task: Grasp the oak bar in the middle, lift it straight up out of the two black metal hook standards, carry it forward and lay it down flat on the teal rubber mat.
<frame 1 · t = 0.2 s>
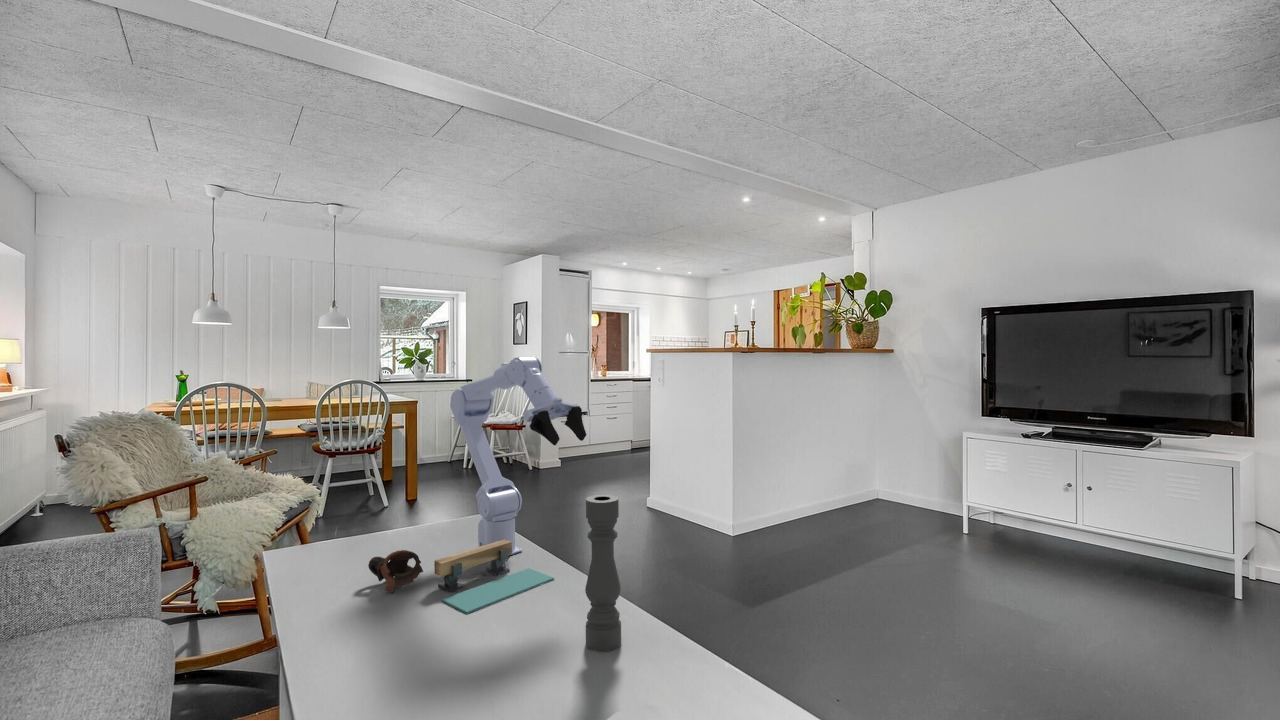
hand: (570, 439, 126), 31 cm above the table, tool tilted 45°, fingers open, 7 cm apart
oak bar: (475, 563, 128), point 3 cm above the table, touching hook standards
hook standards: (475, 578, 128), on the table
candle holder: (603, 643, 99), on the table
pottery mug: (395, 585, 125), on the table
teal mat: (500, 589, 122), on the table
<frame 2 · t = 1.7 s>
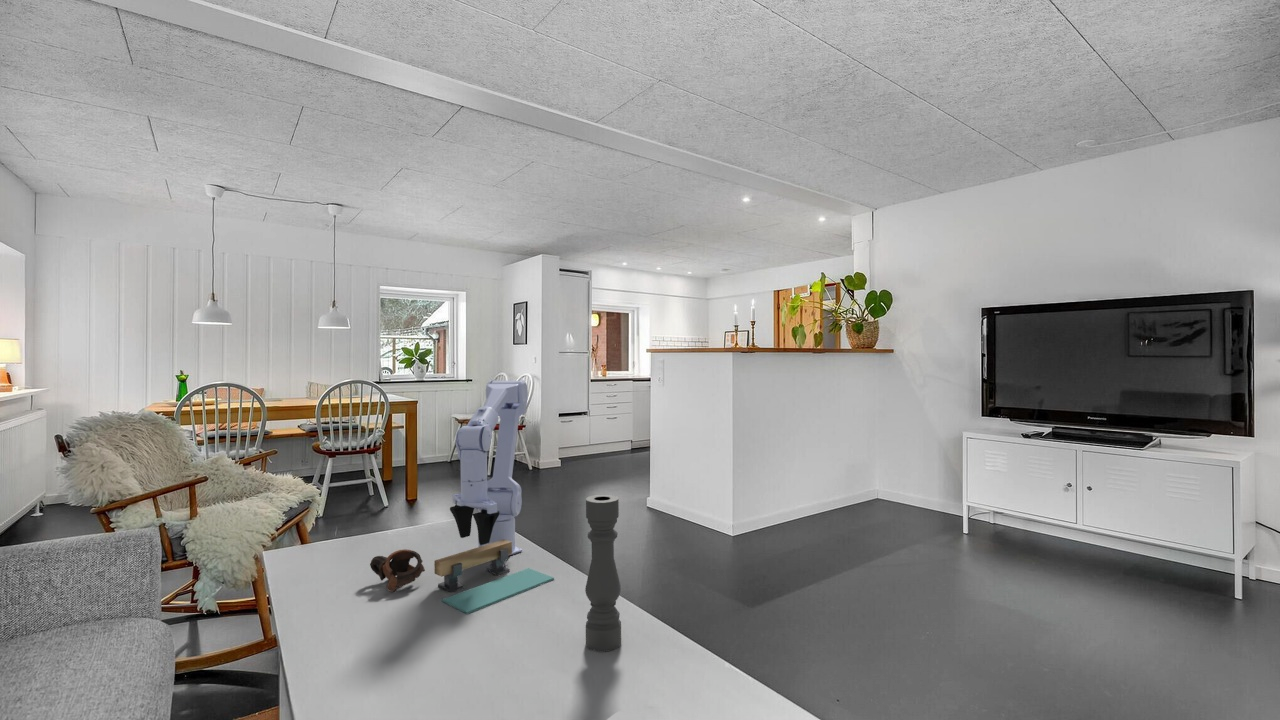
hand: (474, 540, 128), 9 cm above the table, tool pointing down, fingers open, 7 cm apart
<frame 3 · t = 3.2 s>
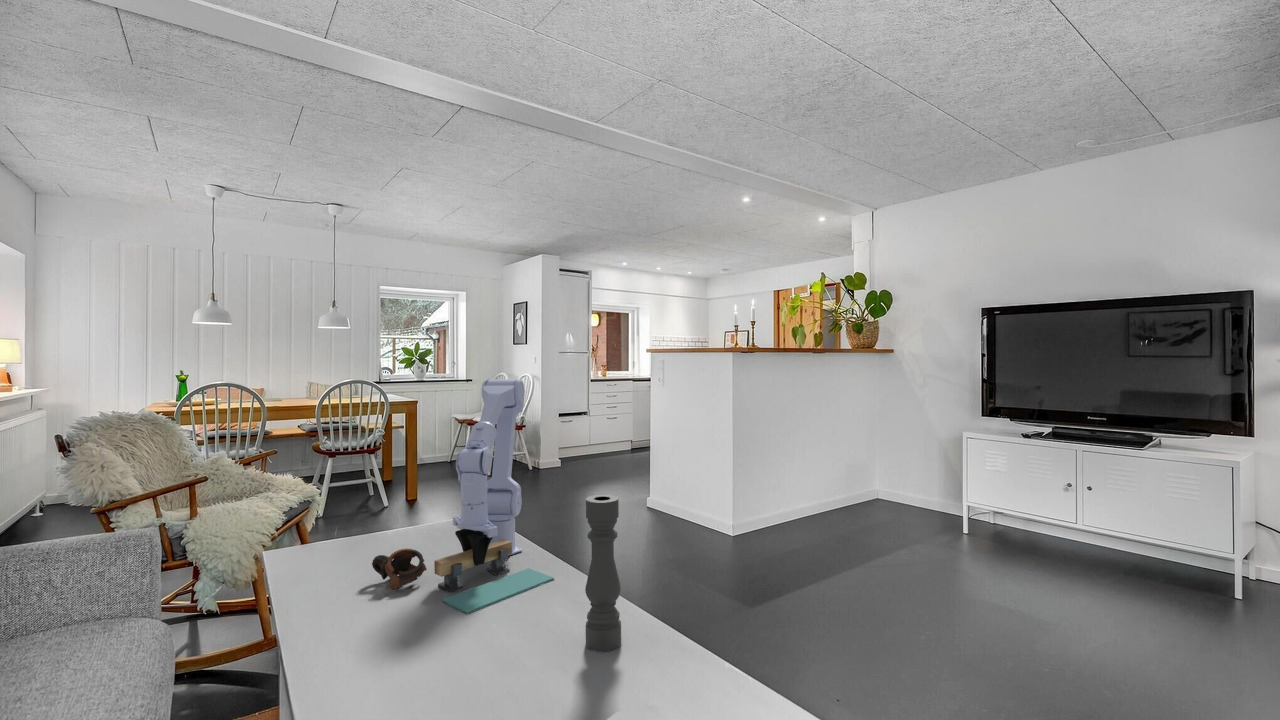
hand: (475, 562, 128), 4 cm above the table, tool pointing down, fingers closed on oak bar, 3 cm apart
oak bar: (475, 563, 128), point 3 cm above the table, touching gripper, hook standards
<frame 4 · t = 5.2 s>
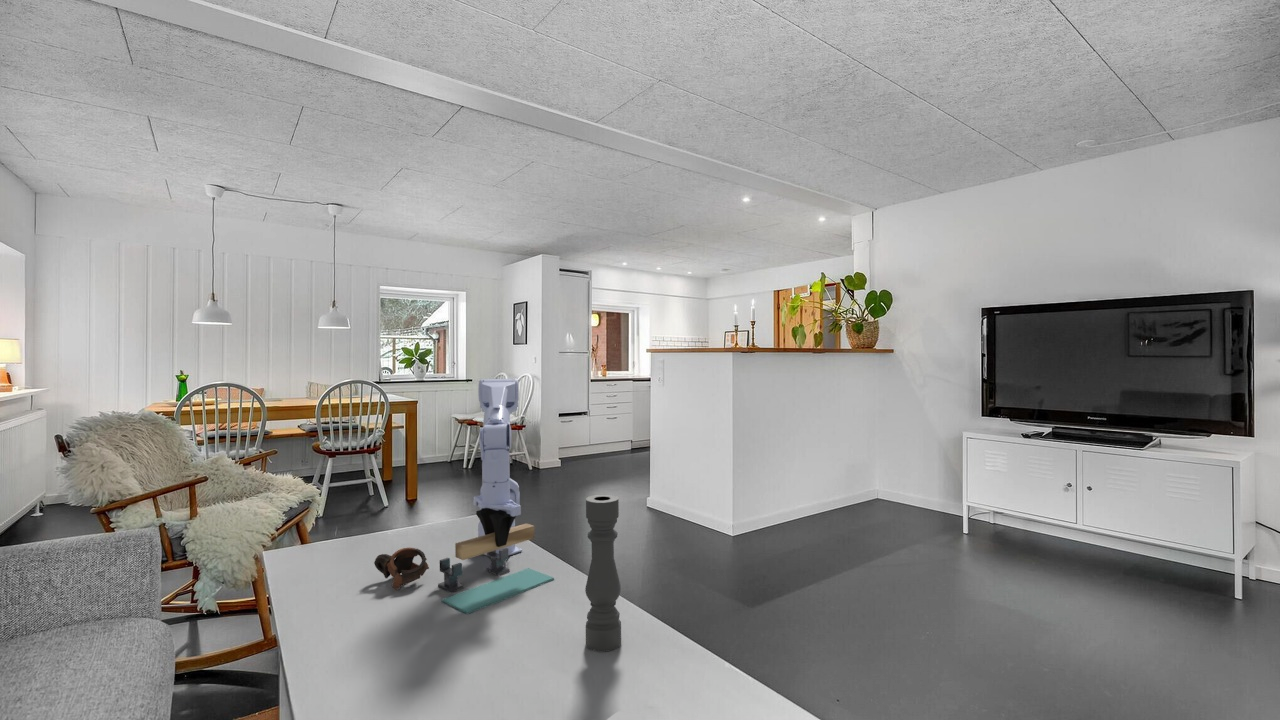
hand: (496, 543, 122), 10 cm above the table, tool pointing down, fingers closed on oak bar, 3 cm apart
oak bar: (496, 547, 122), point 9 cm above the table, touching gripper
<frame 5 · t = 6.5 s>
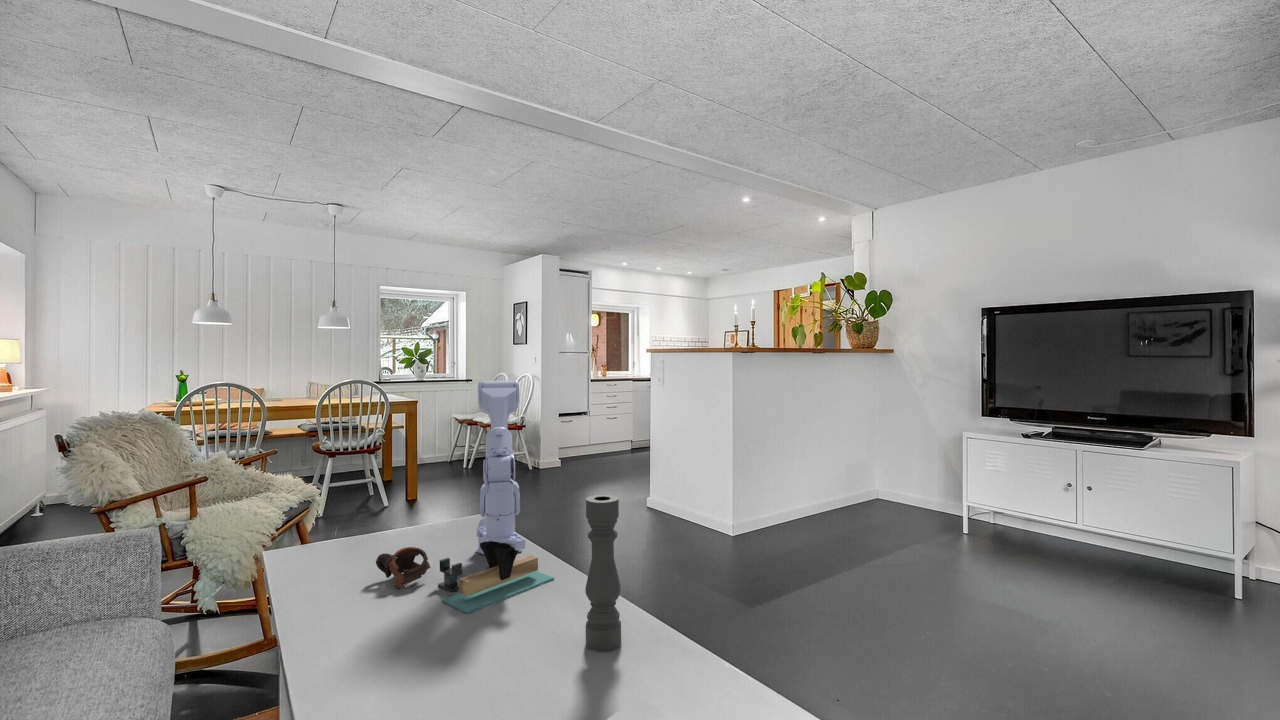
hand: (500, 576, 122), 3 cm above the table, tool pointing down, fingers closed on oak bar, 3 cm apart
oak bar: (500, 580, 122), point 2 cm above the table, touching gripper
when the fingers open (2 cm above the table, at t = 7.4 s): oak bar stays where it is, resting on teal mat.
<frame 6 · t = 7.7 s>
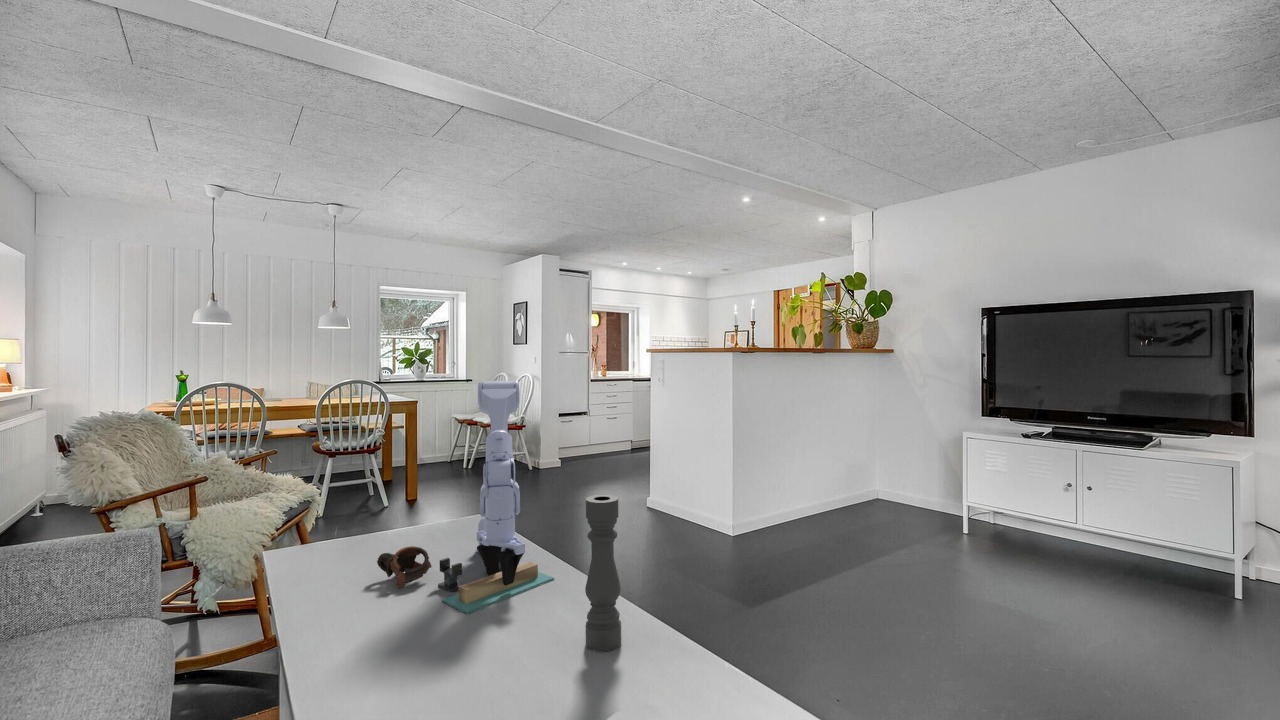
hand: (500, 580, 122), 2 cm above the table, tool pointing down, fingers open, 5 cm apart
oak bar: (500, 588, 122), resting on teal mat
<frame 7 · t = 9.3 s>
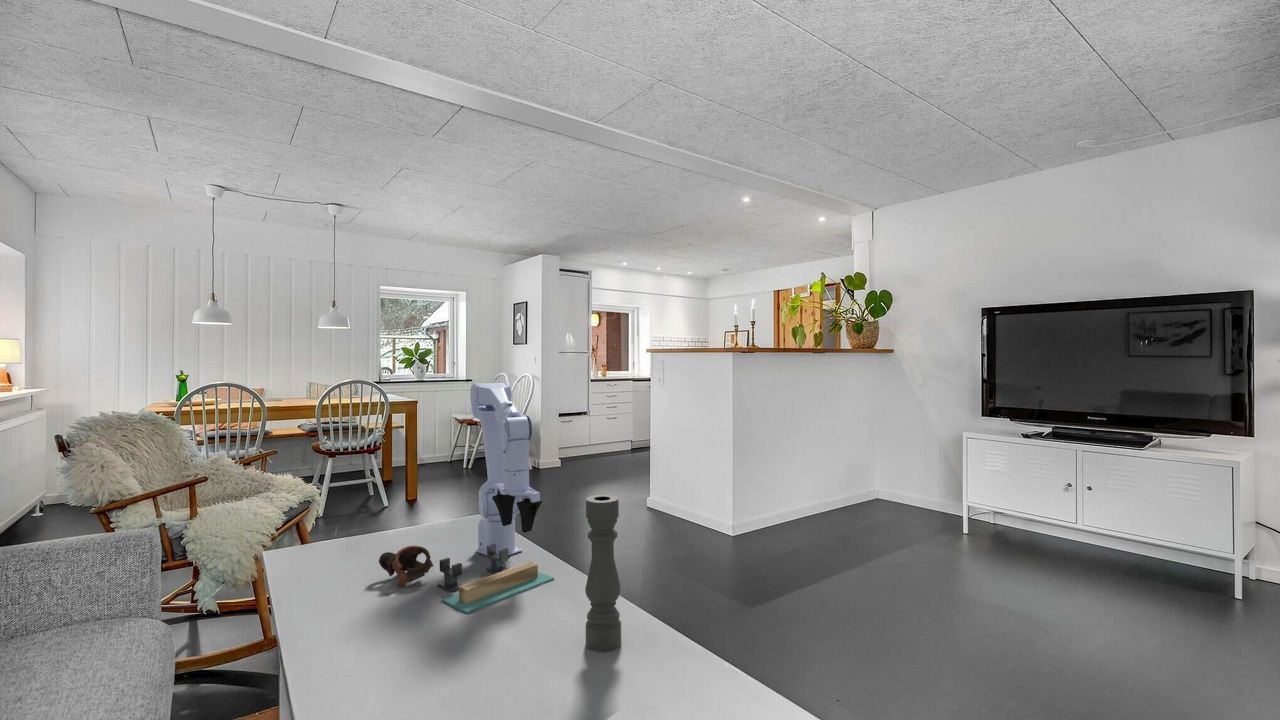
hand: (516, 528, 131), 10 cm above the table, tool pointing down, fingers open, 7 cm apart
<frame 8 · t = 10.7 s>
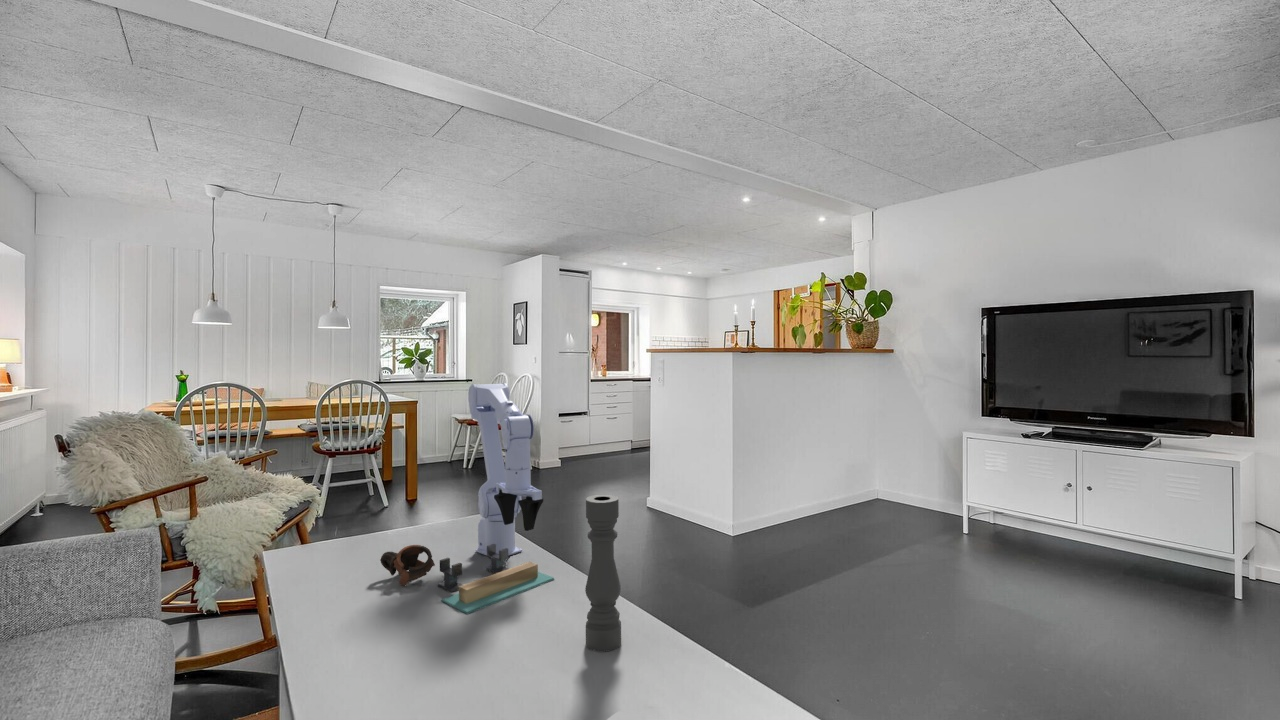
hand: (518, 526, 132), 10 cm above the table, tool pointing down, fingers open, 7 cm apart
at the end: oak bar inside the target area on the teal mat (0.1 cm from its centre), point 0.4 cm above the teal mat's base; oak bar touching teal mat; the gripper is holding nothing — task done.
